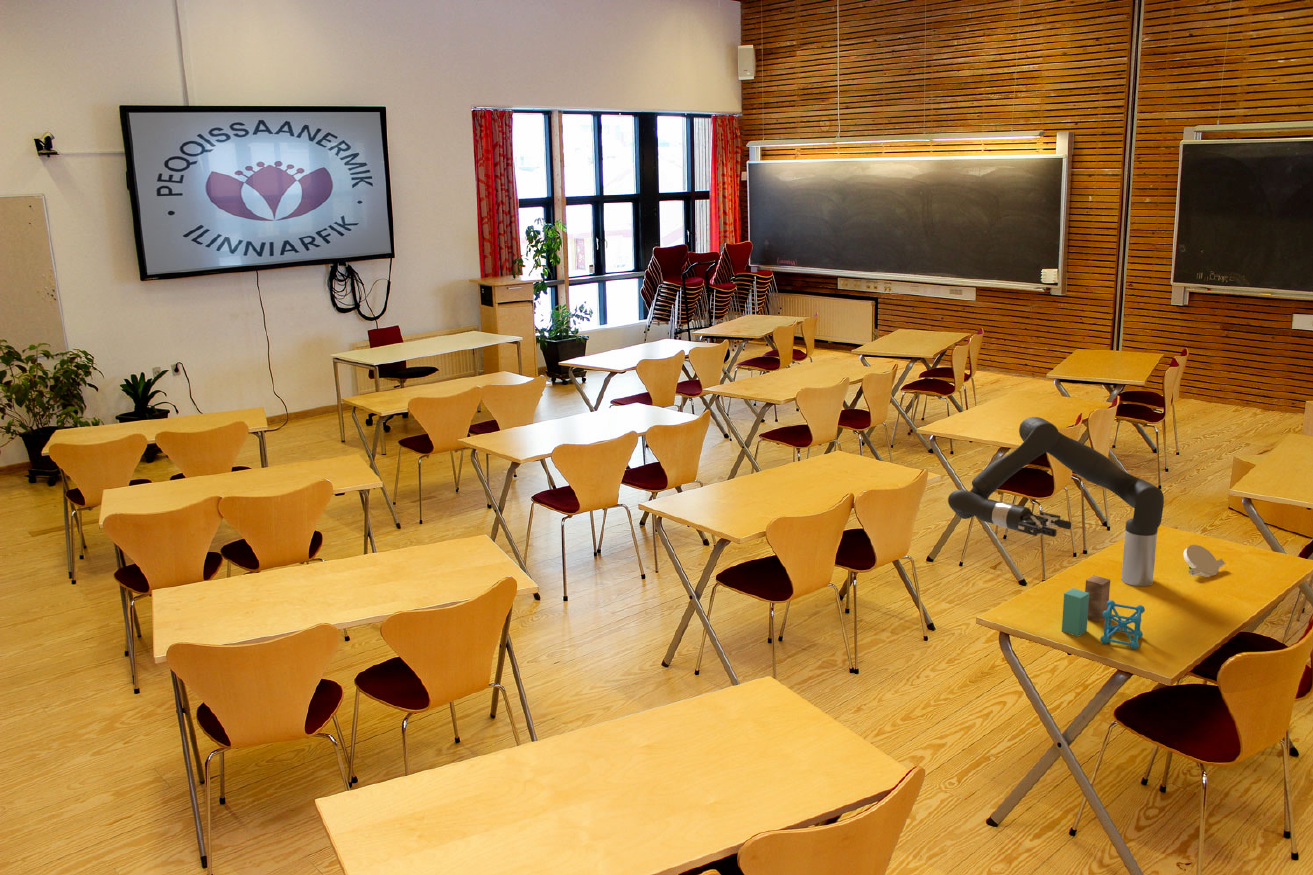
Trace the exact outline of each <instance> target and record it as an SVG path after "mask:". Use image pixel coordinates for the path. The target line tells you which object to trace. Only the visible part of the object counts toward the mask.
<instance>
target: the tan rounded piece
mask: <svg viewBox="0 0 1313 875" xmlns="http://www.w3.org/2000/svg"><path fill="white" fill-rule="evenodd" d="M1183 559H1184V561H1185V562H1186V564H1187V566H1188V569H1189V570H1188V573H1189V574H1190V576H1191V577H1195V576H1201V577H1206V578H1207V577H1208V578H1210V577H1212V576H1216V575H1217V574H1218V573H1219V571H1220V568H1221V567H1224V566H1225V565H1226V562H1225V560H1223V558H1220V559H1216V558H1215V556H1214V554H1213V553H1212V552H1211V551H1210V550H1208V549H1207V548H1205V547H1204V546H1201V545H1199V544H1191V545H1189V546H1188V547H1186V548H1185V549H1184V551H1183Z"/></svg>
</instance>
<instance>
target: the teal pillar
mask: <svg viewBox="0 0 1313 875" xmlns="http://www.w3.org/2000/svg"><path fill="white" fill-rule="evenodd" d="M1062 604H1063V606H1062V608H1063V609H1062V618H1061V619H1062V620H1061V632H1063V633H1065V632H1067V634H1068V633H1070V634H1069V635H1071V634H1073V635H1072V636H1075V637H1080V636H1081V635H1084V633H1087V630H1088V629H1087V628H1088V604H1089V593H1088V592H1085V591H1083V590H1080V589H1076V588H1074V587H1072V588H1071V589H1069V590H1068V591H1066V592H1064V593H1063V603H1062ZM1079 635H1080V636H1079Z"/></svg>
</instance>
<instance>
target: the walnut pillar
mask: <svg viewBox="0 0 1313 875" xmlns="http://www.w3.org/2000/svg"><path fill="white" fill-rule="evenodd" d="M1084 588H1085V589H1084V590H1085V591H1084V592H1088V593H1089V604H1088V618H1087V620H1092V621H1095V622H1097V623H1101V622H1102V621H1103V620H1104V621H1105V618H1104V617H1103V615H1102V613H1103V612H1104V611H1106V610H1107V609H1108V606H1107V602H1108V601H1109V600H1110V592H1111V591H1110V588H1111V579H1109V578H1105V577H1103V576H1099V575H1095V574H1094V575H1092V576H1090V577H1089V578H1086V580H1085V587H1084Z"/></svg>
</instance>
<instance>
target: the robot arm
mask: <svg viewBox="0 0 1313 875" xmlns="http://www.w3.org/2000/svg"><path fill="white" fill-rule="evenodd" d="M1018 433H1019V437H1020V438H1021V440H1022V441H1023V442H1022V443H1021V444H1020V445H1019V446H1018V447H1017V448H1015V449H1014V450H1013V451H1011V452H1010V453H1008V454H1006V455H1005V456H1003V457H999V459H996V460H995V461H993V462H992V463H990V464H988V465H987V466H986V467H985V468H984V469H983V470H982V471H981V472H979V473H978V474H977V475H976V476H974V478H973V479H972V481H971V486H972V488H971V490H969V491H968V490H966V489H965V490H964V489H956V490H954V491H952V492H951V493H950V494H949V495H948V498H947V503H948V506H949V507H950V508H951V510H952V511H953V512H954V514H956V515H957V516H958V517H959V518H960V519H964V520H969V519H971V518H973V517H974V516H975V517H976V518H977V519H979V521H982V522H985V523H987V524H989V523H990V524H991V525H992V524H993V525H996V526H998V527H1001V528H1005V529H1008V530H1011V531H1012V530H1013V531H1016V532H1021V533H1025V534H1027V535H1031V536H1035V537H1036V536H1038V535H1039V536H1040V535H1045V536H1049V537H1053V538H1055V537H1057V533H1058V532H1057V531H1058V530H1057V529H1056V528H1053V527H1057V528H1060V529H1061V528H1062V529H1064V530H1070V529H1072V522H1071V521H1068V520H1065V519H1061V515H1057V514H1053V513H1049V512H1045V511H1041V512H1040V514H1039V513H1037V514H1033V512H1032V510H1031V508H1029V507H1027V506H1023V505H1020V504H1019V505H1018V504H1015V503H1010V502H1007V501H1006V502H1002V501H999V500H994V499H991V498H990V496H991V495H993V493H994V492H996V491H997V489H999V488H1000V487H1001V486H1002V485H1003V484H1004V483H1005V482H1007V481H1008V479H1010V478H1011V477H1012V476H1013V475H1015V474H1016V473H1017V472H1019V471H1020V470H1022V469H1023V468H1025V467H1026V466H1028V464H1030V463H1031V462H1033V461H1035V460H1036V459H1037V458H1039V457H1040V456H1041V455H1043V454H1045V453H1047V454H1049V455H1050V456H1052V457H1053V458H1055V459H1056V460H1057V461H1059V463H1061V464H1062V465H1064V466H1065V467H1066V468H1068V469H1069V470H1071V472H1073V473H1075V474H1076V475H1078V476H1079V477H1081V478H1083V479H1084V480H1086V481H1088V482H1090V483H1091V484H1094V485H1097V486H1098V487H1099V486H1100V487H1102V488H1105V489H1106V490H1108V491H1110V492H1112V493H1114V495H1116V496H1117V497H1119V498H1120V499H1121V500H1122V501H1124V502H1125V504H1127V505H1129V507H1131V508H1133V510H1134V511H1133V517H1131V518H1130V519H1129V518H1128V520H1126V522H1125V530H1124V544H1123V556H1122V566H1121V577H1120V578H1121V581H1122V582H1123V583H1125V584H1127V585H1130V586H1133V587H1148V586H1151V585H1153V584H1154V575H1155V574H1154V573H1155V564H1156V552H1157V551H1156V550H1157V541H1158V540H1157V539H1158V530H1159V527H1160V525H1161V524H1162V519H1163V510H1164V507H1165V506H1164V504H1165V498H1164V493H1163V491H1162V489H1160V488H1159V487H1158V486H1156V485H1154V484H1153V483H1150V482H1148V481H1147V480H1144V479H1141V478H1139V477H1136V476H1134V475H1133V474H1130V473H1129V472H1126V471H1124V470H1122V469H1121V468H1120V467H1119V466H1118V465H1117V464H1116V463H1114V462H1113V460H1111V459H1110V458H1108V457H1107V456H1105V455H1104V454H1103V453H1101V452H1100V451H1098V450H1096V449H1094V448H1092V447H1090V446H1089V445H1086V444H1084V443H1082V442H1080V441H1079V440H1075V439H1073V438H1071V437H1068V436H1066V435H1065V434H1063V433H1061V432H1060V431H1059V429H1058V427H1057V426H1056V425H1054V423H1052V422H1050V421H1048V420H1046V419H1044V418H1042V417H1039V416H1032V417H1030V416H1029V417H1027V418H1025V419H1024V420H1023V421H1022V422H1021V423H1020V425H1019V429H1018Z"/></svg>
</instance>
